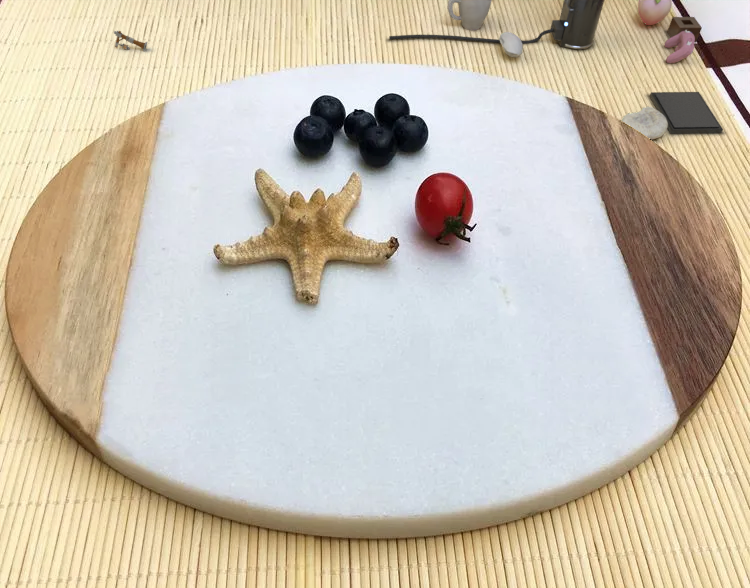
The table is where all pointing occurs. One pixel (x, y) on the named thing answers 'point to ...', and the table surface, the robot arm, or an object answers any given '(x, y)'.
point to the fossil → (647, 122)
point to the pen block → (684, 26)
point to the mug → (470, 12)
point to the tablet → (685, 112)
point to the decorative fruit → (653, 10)
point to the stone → (511, 44)
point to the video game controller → (680, 46)
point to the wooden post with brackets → (129, 39)
